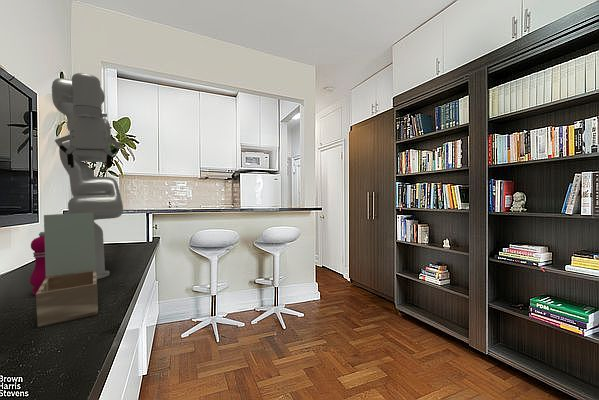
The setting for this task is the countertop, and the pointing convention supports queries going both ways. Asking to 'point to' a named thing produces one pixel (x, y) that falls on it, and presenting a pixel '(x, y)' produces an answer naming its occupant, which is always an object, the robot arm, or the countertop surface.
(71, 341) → the countertop surface
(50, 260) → the lid
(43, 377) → the countertop surface
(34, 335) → the countertop surface
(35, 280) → the pepper mill
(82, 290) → the box
